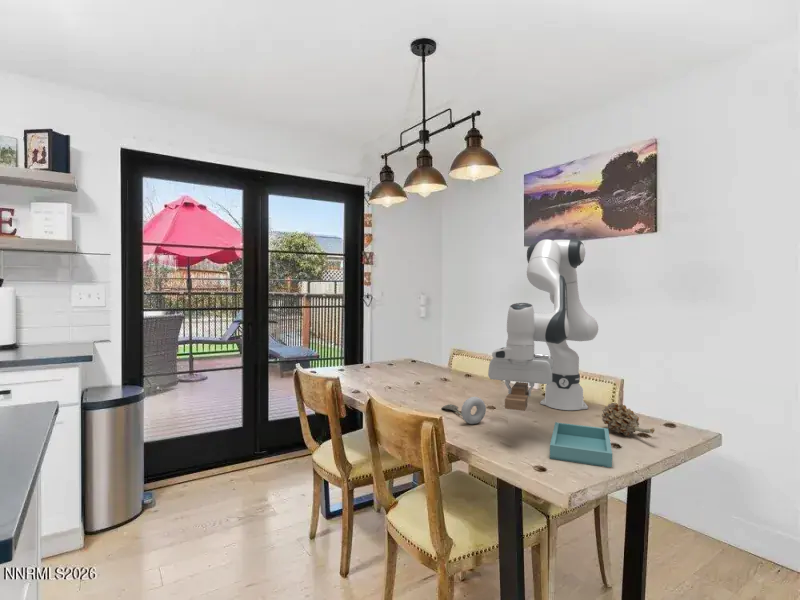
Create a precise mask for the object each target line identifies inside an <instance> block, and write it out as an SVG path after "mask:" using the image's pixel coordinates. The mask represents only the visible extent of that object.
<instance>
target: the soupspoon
mask: <svg viewBox="0 0 800 600" xmlns="http://www.w3.org/2000/svg"><path fill="white" fill-rule="evenodd" d="M441 409H445V410H451V411H453V412H456V413H457V414H458V415H460V416H461V417H462V413H461V411H459V407H458V405H455V404H446V405H445V404H444V406H442V407H441ZM465 424H468V423H467V422H466V421H465Z"/></svg>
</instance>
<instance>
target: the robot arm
mask: <svg viewBox="0 0 800 600" xmlns="http://www.w3.org/2000/svg"><path fill="white" fill-rule="evenodd" d="M585 257H586V248H585V245H584V243H583V242H582V241H581V239H573V238H572V239H547V238H546V239H541V240H540V241H537V242H534V243H531V244H529V246H528V247H527V251H526V260H527V267H526V278H527V280H528V281H529V283H530V284H531V285H532V286H533V287H535V289H538V290H541V291H544V292H547V293H549V298H550V301H551V303H552V304H553V311H552V312H535V310H534V306H533V304H531V303H528V302H518V303H517V302H516V303H513V304H511V305H509V307H508V313H507V319H506V333H507V339H506V343H505V344H506V346H505V347H501V348H497V349H495V350H493V351H492V353H491V354H492V355H491V356H492V359H490V361H489V365H488V371H487V373H488V374H487V377H488V378H489V379H490V380H493V381H494V380H496V381H504V385H505V386H506V388H507V389H508V393H507V395H508V394H512V387H511V382H515V383H516V382H524V383H528V387H529V388H528V390H526V396H528V397H531V394H532V393H531V392H532V390H533V388H534V386H535V384H540V385H541V384H543V385H545V390H544V391H545V393H544V394H545V395H544V398H543V399H542V400H540V402H539V404H540V405H543V406H546V407H549V408H552V409H556V410H561V411H580V410H588V409H589V406H588V405H587V403H586V402H585V401H584V399H585V398H584V388H583V387H582V385H580V382H581V381H580V380H581V375H580V373H579V371H580V369H579V368H580V356H579V354H578V353H577V351H575V349H572V348H570V346H569V345H568V342H567V341H572V342H587V341H588V342H589V341H593V340H594V339H595V338H596V337H597V335H598V332H599V325H598V324H599V323H598V322H597V320H596V319H595V317H593V316H592V315H590V314H589V313H588V311H586V309H585V308H584V307H583V305H582V303H581V300H580V296H579V295H580V294H579V285H578V274H577V268H578V267H579V266H581V265H582V264H583V263H584V261H585ZM535 342H545V344H546V345H547V347H548V350H549V354H550V355H549V354H541V353H535Z"/></svg>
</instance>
